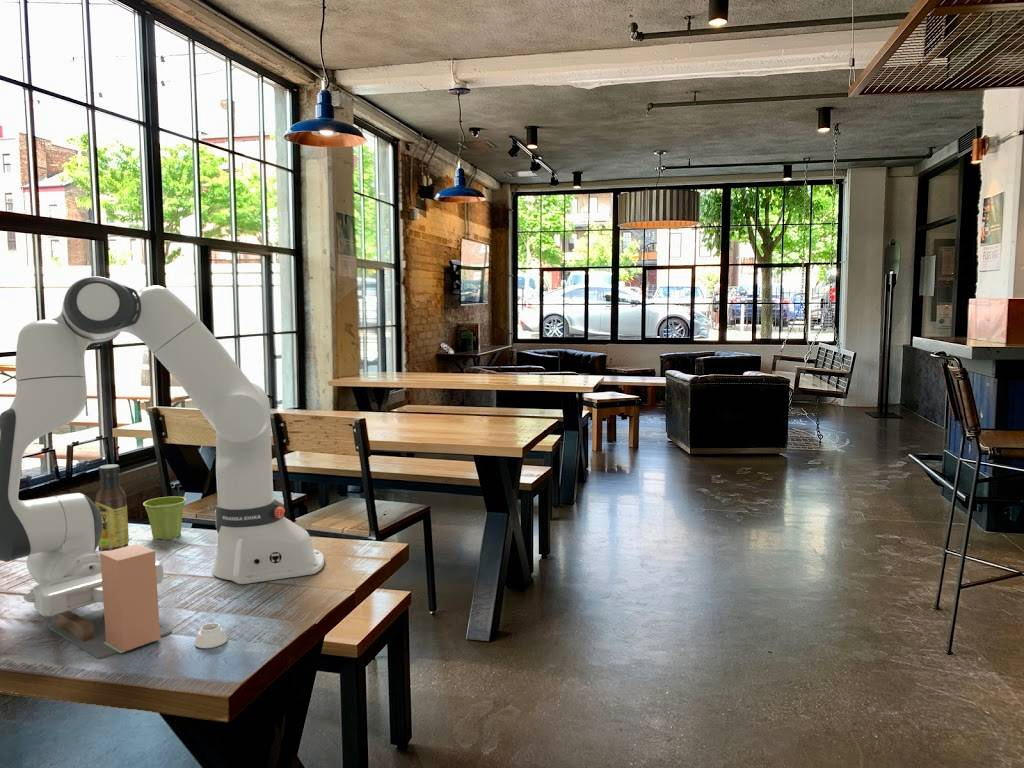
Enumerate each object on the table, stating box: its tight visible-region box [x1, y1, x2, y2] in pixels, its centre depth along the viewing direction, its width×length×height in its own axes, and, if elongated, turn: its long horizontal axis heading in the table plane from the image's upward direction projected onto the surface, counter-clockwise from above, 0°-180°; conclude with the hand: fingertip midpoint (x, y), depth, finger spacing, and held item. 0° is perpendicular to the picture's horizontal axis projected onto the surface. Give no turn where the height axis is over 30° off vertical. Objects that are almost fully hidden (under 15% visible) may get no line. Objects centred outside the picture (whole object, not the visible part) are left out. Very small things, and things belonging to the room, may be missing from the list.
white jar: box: [194, 622, 228, 650], centre depth 128 cm, size 5×3×5 cm
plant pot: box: [142, 496, 187, 541], centre depth 185 cm, size 9×9×9 cm
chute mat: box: [47, 608, 173, 660], centre depth 133 cm, size 20×12×1 cm, turn 52°
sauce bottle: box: [94, 463, 130, 551], centre depth 173 cm, size 6×6×20 cm
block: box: [100, 543, 161, 653], centre depth 127 cm, size 6×6×15 cm
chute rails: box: [54, 610, 94, 642], centre depth 135 cm, size 11×10×2 cm
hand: (121, 595), depth 129 cm, fingers closed, pressing on block
